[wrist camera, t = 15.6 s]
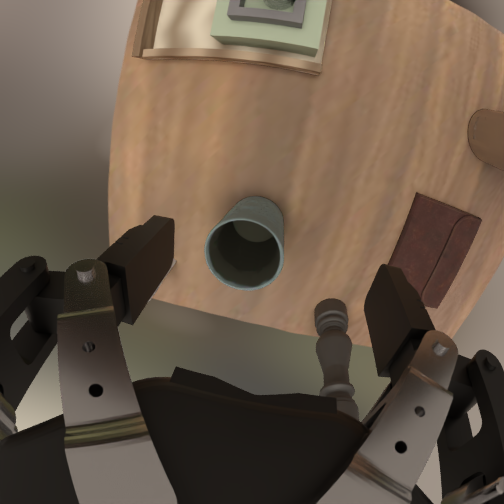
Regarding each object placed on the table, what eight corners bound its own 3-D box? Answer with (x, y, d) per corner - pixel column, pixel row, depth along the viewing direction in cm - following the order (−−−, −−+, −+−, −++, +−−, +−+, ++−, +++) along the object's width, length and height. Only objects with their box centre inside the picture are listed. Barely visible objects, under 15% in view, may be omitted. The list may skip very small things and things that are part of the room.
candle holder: (350, 300, 51) (368, 419, 29) (341, 324, 54) (351, 439, 32) (318, 296, 51) (322, 418, 30) (311, 321, 54) (310, 437, 33)
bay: (335, -24, 25) (339, -37, 20) (318, 75, 34) (321, 71, 29) (168, -32, 26) (155, -43, 22) (147, 59, 35) (131, 56, 31)
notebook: (374, 290, 50) (376, 296, 48) (415, 191, 40) (419, 195, 38) (435, 303, 49) (438, 309, 47) (478, 216, 39) (483, 220, 37)
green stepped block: (327, -16, 25) (333, -41, 18) (315, 57, 31) (320, 44, 24) (236, -27, 26) (223, -52, 18) (221, 44, 32) (203, 30, 25)
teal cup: (258, 258, 49) (247, 303, 39) (212, 220, 47) (188, 257, 37) (300, 219, 45) (301, 257, 34) (252, 176, 43) (237, 201, 32)
